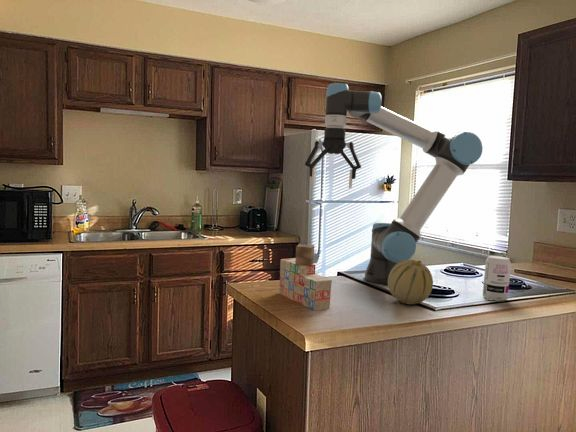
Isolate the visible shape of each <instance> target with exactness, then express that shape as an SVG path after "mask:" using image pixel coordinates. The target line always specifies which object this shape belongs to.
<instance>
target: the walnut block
mask: <svg viewBox="0 0 576 432" xmlns="http://www.w3.org/2000/svg"><path fill="white" fill-rule="evenodd" d="M295 247H296V249H295V258H296V261H295V265H303V266H311V265H312V264H314V259H315V258H314V256H315V245H313V244H304V243H303V244H302V243H299V244H297V245H296V246H295Z"/></svg>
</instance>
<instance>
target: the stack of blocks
mask: <svg viewBox="0 0 576 432" xmlns="http://www.w3.org/2000/svg"><path fill="white" fill-rule="evenodd" d="M295 261H296V257H293V258H281V259H280V264H279V265H280V267H279V288H278V289H279V294H280V295H282V296H284V297H285V298H287V299H290V300H291V301H294V302H295V303H298V304H300V305H302V306H304V307H306V308H308V309H310V310H312V311H319V310H326V309H330V305H331V293H332V292H331V291H332V282H333V281H332V279H330V278H328V277H325V276H323V275H320V274H317V273H316V264H315V263H313V264H312V265H311V266H303V265H295Z"/></svg>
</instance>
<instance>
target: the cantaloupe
mask: <svg viewBox="0 0 576 432" xmlns="http://www.w3.org/2000/svg"><path fill="white" fill-rule="evenodd" d="M387 287H388V290H389V292H390V294H391V295H392V297H393V298H394V299H395V300H397V301H398V302H400V303H403V304H406V305H418V304H421V303H422V302H424V301H426V299H428V298H429V296H430V295H431V293H432V290H433V287H434V278H433V275H432V273H431V270H430V269H429V268H428V267H427V266H426V264H423V263H422V260H416V259H409V260H403V261H401V262H399V263H397V264H396V265H395V266H394V267H393V268H392V270H391V272H390V274H389V277H388V284H387Z"/></svg>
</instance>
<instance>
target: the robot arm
mask: <svg viewBox="0 0 576 432" xmlns="http://www.w3.org/2000/svg"><path fill="white" fill-rule="evenodd" d="M326 89H327V90H326V96H325V99H326V100H325V115H324V117H325V119H324V127H325V128H324V133H323V134H324V136H323V141H318V140H315V141H314V147H313V148H312V150H311V152H310V154H309V156H308V157H307V159H306V161H305V162H304V165H305V166H307V167H308V168H309V174H308V175H309V177H311V186H312V187H315V186H316V178H317V176H316V175H317V168H316V167H315V166H317V165H318V164H319V163H320V161H321V160H322V159H323V158H324V157H326V155H327V154H328V155H333V154H334V155H341V156H342V157H343V159H344V160H345V162H346V163H347V164H348V165H349V167H350V168H351V169H349V180H348V189H352V188H353V180H356V176H357V175H356V174H357V170H359V169H361V168H362V163H361V162H360V160H359V158H358V155H357V153H356V151H355V147H354V146H355V145H354V144H355V143H354V142H353V141H349V142H346V129H345V128H346V127H347V113H348V114H349V116H351V117H352V118H356V119H357V118H358V119H360V120H362V121H365V122H366V123H369V124H371V125H372V126H373V125H374V126H375V127H377V128H379V129H382V130H383V131H385V132H388V133H390V134H392V135H394V136H396V137H398V138H400V139H402V140H404V141H407V142H408V143H411V144H412V145H414V146H417V147H418V148H421V149H422V151H423V152H424V153H426V154H427V155H430V157H434V158H435V165H434V166H433V167H432V169H431V171H430V172H429V174H428V176H427V177H426V179H425V180H424V181H423V183H422V185H420V188H419V189H418V191H417V192H416V193H415V195H414V196H413V198H412V199H411V201H410V202H409V204H408V205H407V207H406V208H405V209H404V211H403V213H401V215H400V216H399V218H394V219H393V220H392V221H391V222H375V223H373V224H372V229H371V242H370V243H371V244H370V245H371V246H370V259H369V262H368V264H367V267H366V268H365V269H366V270H365V271H364V280H366V281H368V282H372V283H376V284H380V285H381V284H383V285H388V277H389V274H390V272H391V270H392V268H393V267H394V266H395V265H396V264H397V263H399V262H401V261H403V260H411V259H412V257H413V256H414V255H415V253H416V250H417V244H418V242H419V240H420V239H421V237H422V235H421V229H422V228H423V227H424V225H425V224H426V222H427V221H428V220H429V218H430V216H431V215H432V214H433V212H434V210H435V209H436V208H437V206H438V204H439V203H440V202H441V201H442V199H443V197H444V196H445V194H446V193H447V191H448V190H449V188H450V187H451V186H452V184H453V183H454V181H455V180H456V178H457V177H459V176H463V175H464V174H465V173H466V172H467V169H468V168H469V167H470V165H474V164H475V163H476V162H477V161H479V159H480V158H481V156H482V153H483V143H482V140H481V138H480V137H479V136H478V135H476V134H475V133H474V132H472V131H458V132H454V133H453V132H452V133H446V132H443V131H440V130H438V129H433V130H431V129H430V128H428V127H426V126H423V125H421V124H419V123H417V122H414V121H413V120H410V119H409V118H407V117H405V116H402V115H400V114H397V113H396V112H394V111H392V110H390V109H387V108H386V107H383V106H382V102H383V101H382V98H383V97H382V94H381V92H377V91H373V90H371V91H363V90H362V91H361V90H350V89H349V86H348V84H347V83H341V82H332V83H330V84H329V85H327V88H326ZM321 146H322V147H323V149H322V151H321V152H320V154H318V156H317V157H316V158H315V159H314V157H315V156H316V154H317V152H318V151H319V148H321ZM346 147H347V149H348V150H349V151H350V153H351V155H352V158H353V161H354V163H353V161H352V159H350V157H349V156H348V155H347V153H346V151H344V150H345V148H346ZM313 159H314V160H313Z"/></svg>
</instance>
